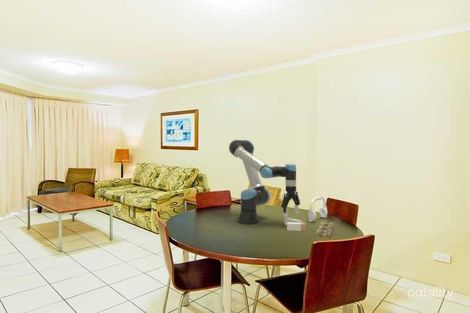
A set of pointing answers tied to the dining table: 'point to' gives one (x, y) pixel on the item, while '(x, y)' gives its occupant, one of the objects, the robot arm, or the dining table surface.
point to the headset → (322, 210)
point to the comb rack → (325, 229)
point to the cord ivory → (296, 226)
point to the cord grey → (291, 220)
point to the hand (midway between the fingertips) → (291, 215)
